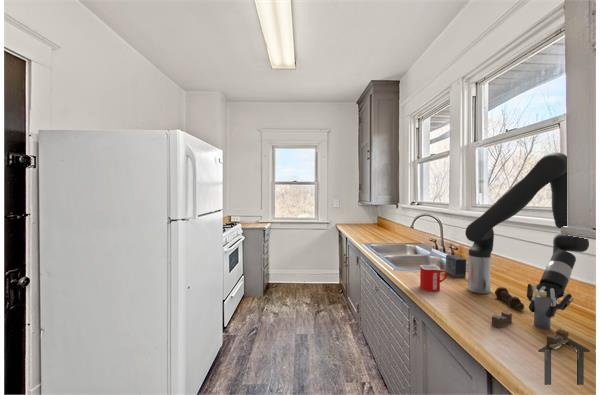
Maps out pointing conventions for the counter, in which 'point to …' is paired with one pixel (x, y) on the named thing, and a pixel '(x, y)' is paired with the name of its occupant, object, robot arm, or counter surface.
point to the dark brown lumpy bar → (509, 298)
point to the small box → (456, 266)
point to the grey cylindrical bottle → (542, 311)
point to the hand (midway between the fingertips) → (540, 313)
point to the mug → (431, 277)
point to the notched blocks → (506, 318)
